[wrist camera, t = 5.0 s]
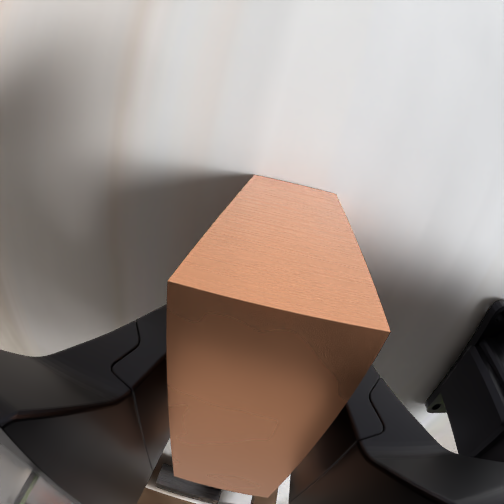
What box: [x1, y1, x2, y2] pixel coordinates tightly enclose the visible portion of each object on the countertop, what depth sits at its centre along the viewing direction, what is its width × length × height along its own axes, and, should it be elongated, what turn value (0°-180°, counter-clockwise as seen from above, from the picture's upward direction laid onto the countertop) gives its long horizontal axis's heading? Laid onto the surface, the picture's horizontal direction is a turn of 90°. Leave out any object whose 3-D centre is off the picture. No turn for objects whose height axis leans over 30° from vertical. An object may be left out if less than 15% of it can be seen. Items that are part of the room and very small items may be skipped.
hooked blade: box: [156, 175, 391, 504], centre depth 11 cm, size 6×24×6 cm, turn 169°
